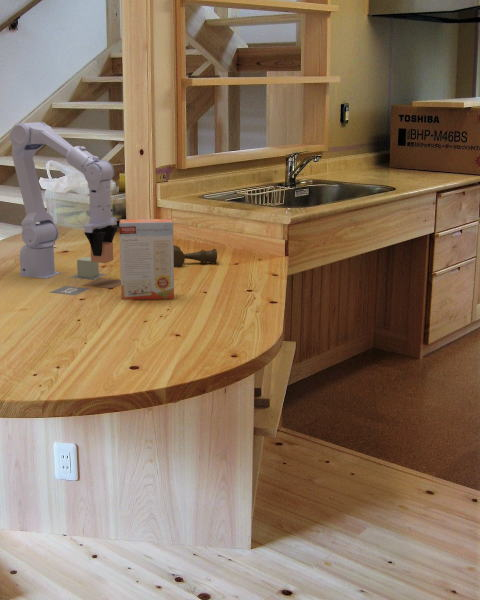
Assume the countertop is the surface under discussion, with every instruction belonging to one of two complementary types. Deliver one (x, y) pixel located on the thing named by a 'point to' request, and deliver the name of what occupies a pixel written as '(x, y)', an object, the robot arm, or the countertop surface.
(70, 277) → the gray coaster
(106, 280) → the walnut coaster
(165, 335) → the countertop surface
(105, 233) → the robot arm
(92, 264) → the sage block
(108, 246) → the rust block
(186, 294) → the countertop surface
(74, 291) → the tile
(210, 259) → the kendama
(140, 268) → the cracker box
